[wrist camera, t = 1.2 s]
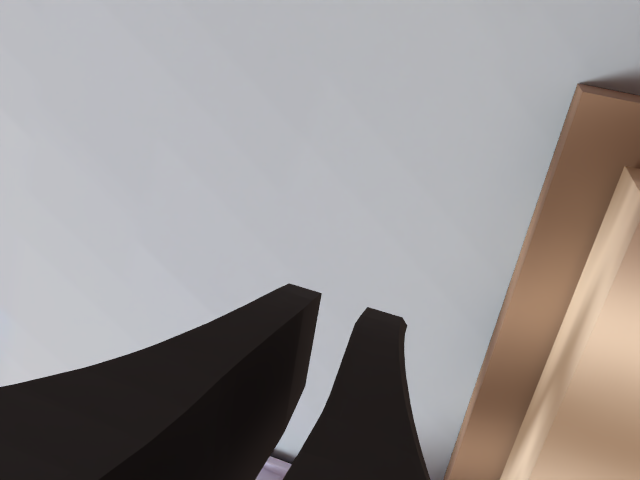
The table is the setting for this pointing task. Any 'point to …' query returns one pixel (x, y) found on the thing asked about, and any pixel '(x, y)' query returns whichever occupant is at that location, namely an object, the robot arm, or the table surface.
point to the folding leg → (592, 365)
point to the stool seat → (547, 274)
